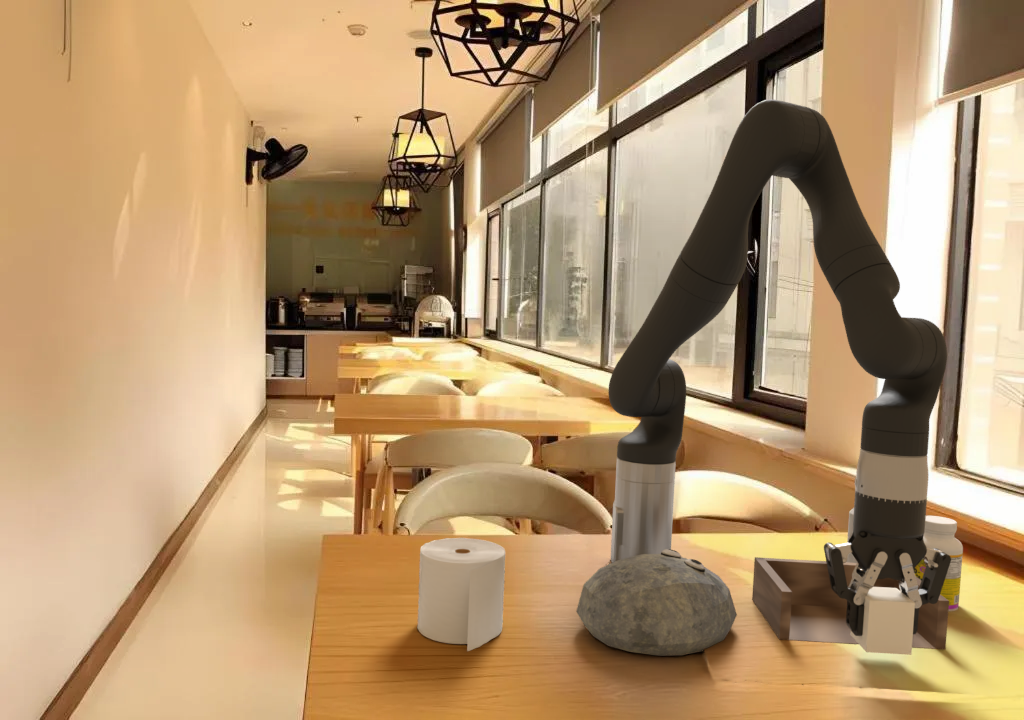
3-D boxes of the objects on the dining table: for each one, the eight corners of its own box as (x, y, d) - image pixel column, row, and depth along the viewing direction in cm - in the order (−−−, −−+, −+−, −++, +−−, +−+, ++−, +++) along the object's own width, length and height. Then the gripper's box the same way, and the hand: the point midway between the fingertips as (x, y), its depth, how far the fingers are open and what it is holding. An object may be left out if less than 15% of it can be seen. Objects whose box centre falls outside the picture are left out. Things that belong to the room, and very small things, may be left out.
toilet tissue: (464, 606, 110) (466, 532, 109) (527, 633, 101) (531, 554, 101) (399, 625, 102) (402, 547, 102) (462, 657, 94) (466, 571, 93)
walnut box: (778, 645, 101) (782, 591, 101) (751, 604, 115) (754, 557, 114) (945, 655, 100) (949, 600, 99) (897, 613, 114) (900, 565, 113)
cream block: (866, 652, 93) (869, 600, 93) (850, 634, 98) (853, 585, 98) (911, 654, 93) (914, 602, 92) (893, 637, 98) (896, 587, 97)
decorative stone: (552, 617, 108) (556, 542, 107) (685, 601, 116) (689, 532, 115) (620, 674, 91) (625, 586, 91) (769, 651, 99) (774, 570, 99)
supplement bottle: (896, 599, 120) (902, 513, 119) (939, 600, 120) (945, 513, 119) (923, 616, 113) (929, 525, 112) (968, 617, 114) (975, 526, 113)
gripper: (838, 494, 91) (829, 644, 92) (971, 501, 90) (960, 652, 91) (816, 480, 98) (808, 619, 99) (939, 486, 98) (929, 626, 99)
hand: (881, 634), depth 95 cm, fingers closed on cream block, 5 cm apart
